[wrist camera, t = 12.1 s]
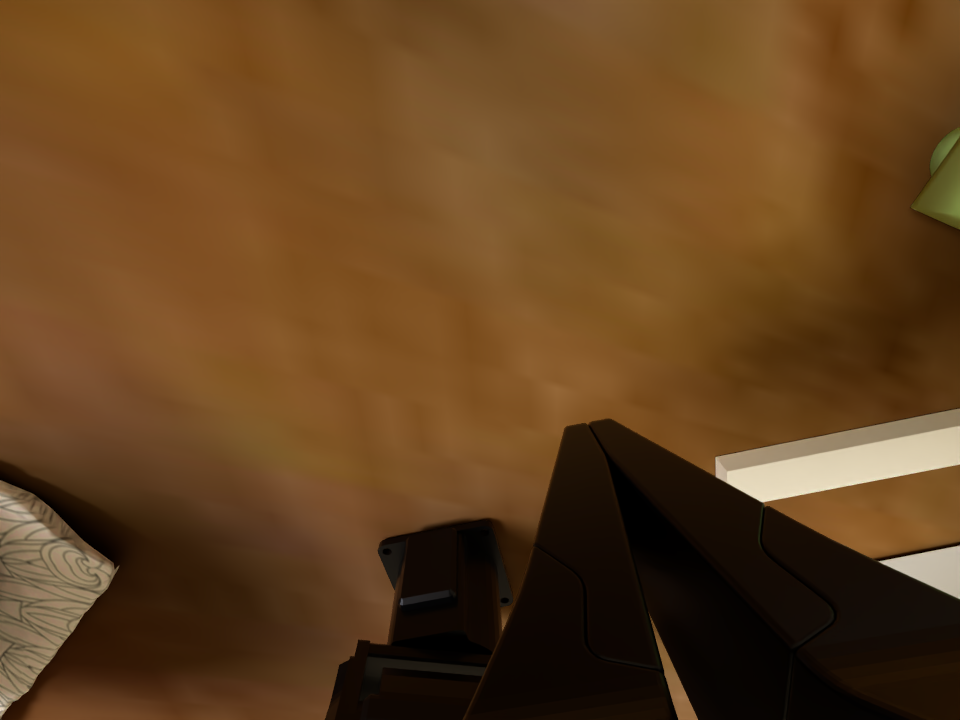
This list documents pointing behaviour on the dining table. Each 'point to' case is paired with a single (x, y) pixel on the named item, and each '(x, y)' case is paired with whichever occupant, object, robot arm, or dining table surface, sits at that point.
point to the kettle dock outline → (845, 457)
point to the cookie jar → (40, 587)
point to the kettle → (943, 183)
